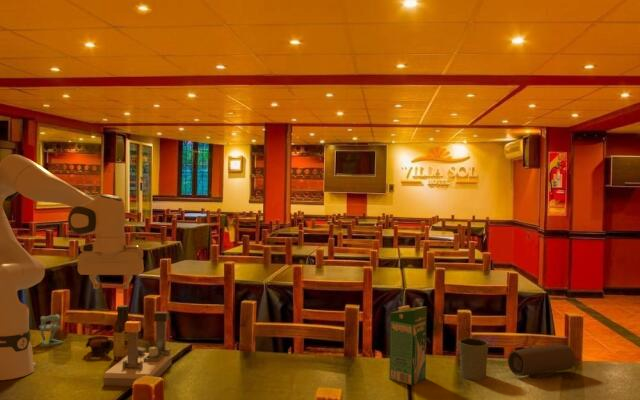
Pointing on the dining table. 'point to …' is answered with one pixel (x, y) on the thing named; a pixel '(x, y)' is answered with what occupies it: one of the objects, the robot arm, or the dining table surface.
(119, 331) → the sauce bottle
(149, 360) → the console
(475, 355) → the grey cup
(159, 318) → the lever black
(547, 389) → the dining table surface
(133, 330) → the lever orange
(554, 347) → the bluetooth speaker
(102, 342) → the pottery mug
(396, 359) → the milk carton
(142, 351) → the block
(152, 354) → the push button
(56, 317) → the chair
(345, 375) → the dining table surface
